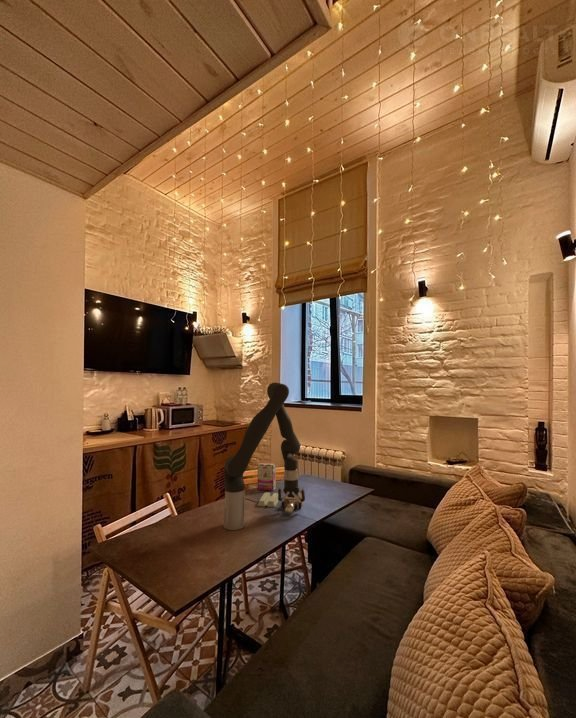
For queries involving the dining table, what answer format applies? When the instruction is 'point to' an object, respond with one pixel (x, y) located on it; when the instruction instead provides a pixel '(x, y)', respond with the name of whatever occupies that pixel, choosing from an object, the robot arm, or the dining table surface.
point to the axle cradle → (268, 500)
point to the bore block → (292, 499)
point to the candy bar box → (266, 476)
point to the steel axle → (290, 507)
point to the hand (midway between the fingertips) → (291, 508)
